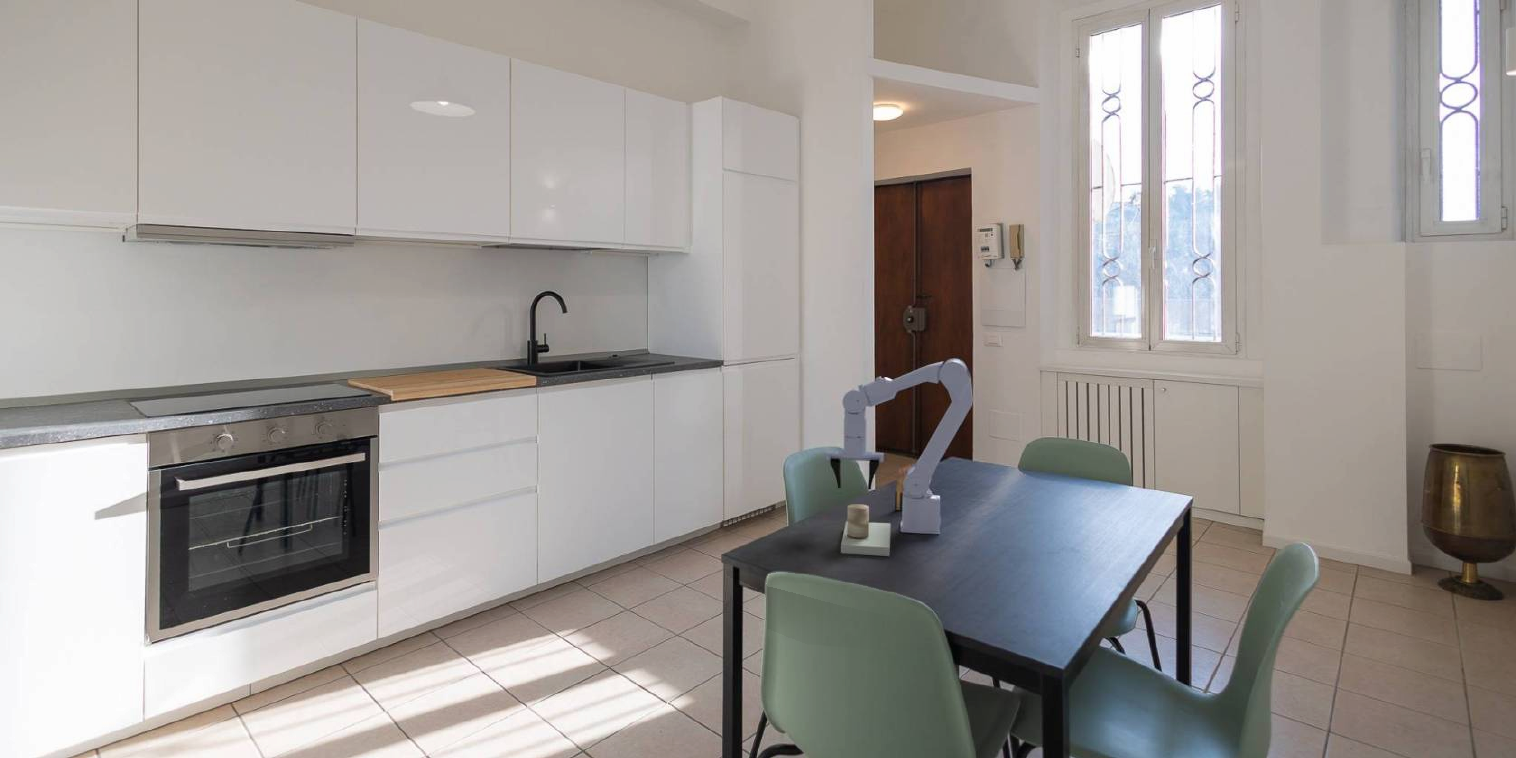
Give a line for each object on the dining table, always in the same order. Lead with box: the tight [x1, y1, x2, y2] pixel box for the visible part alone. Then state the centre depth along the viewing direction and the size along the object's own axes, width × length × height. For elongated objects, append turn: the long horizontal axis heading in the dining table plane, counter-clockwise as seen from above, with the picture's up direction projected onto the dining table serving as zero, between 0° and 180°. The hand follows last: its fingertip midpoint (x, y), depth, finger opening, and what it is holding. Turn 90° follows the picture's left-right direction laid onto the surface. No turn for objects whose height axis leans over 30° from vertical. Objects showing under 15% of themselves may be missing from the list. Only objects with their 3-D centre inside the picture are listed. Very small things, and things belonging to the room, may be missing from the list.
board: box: [840, 520, 891, 557], centre depth 180 cm, size 11×18×2 cm, turn 169°
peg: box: [846, 503, 870, 539], centre depth 178 cm, size 5×5×9 cm
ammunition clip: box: [894, 461, 918, 512], centre depth 209 cm, size 11×2×12 cm, turn 138°
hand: (854, 488), depth 193 cm, fingers open, 7 cm apart
